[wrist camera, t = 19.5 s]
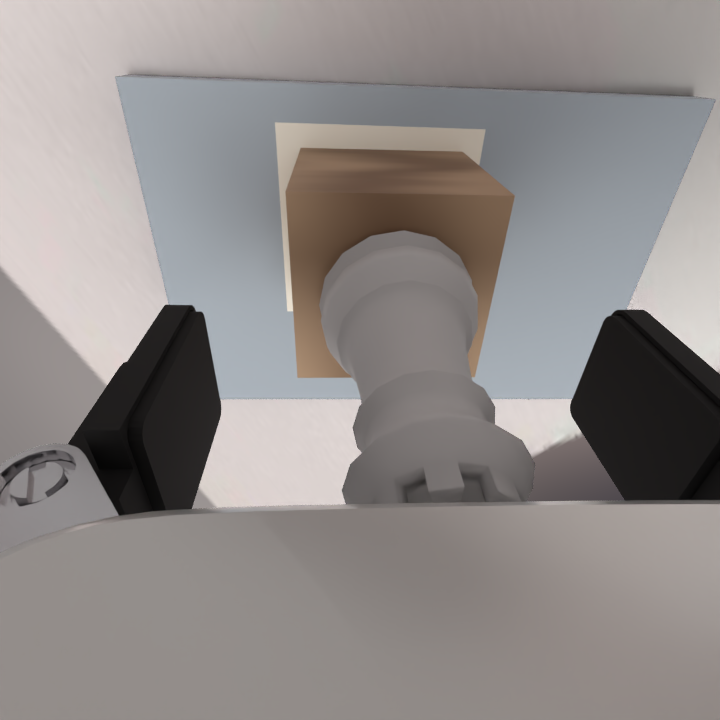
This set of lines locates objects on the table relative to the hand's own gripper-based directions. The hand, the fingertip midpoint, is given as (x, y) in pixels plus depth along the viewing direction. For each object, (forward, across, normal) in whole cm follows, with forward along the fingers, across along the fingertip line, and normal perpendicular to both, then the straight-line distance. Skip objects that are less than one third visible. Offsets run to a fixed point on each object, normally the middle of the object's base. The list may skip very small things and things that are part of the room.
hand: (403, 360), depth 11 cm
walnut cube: (+9, 0, 0) cm, 9 cm away
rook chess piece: (+4, 0, 0) cm, 4 cm away
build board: (+10, -2, +2) cm, 11 cm away
